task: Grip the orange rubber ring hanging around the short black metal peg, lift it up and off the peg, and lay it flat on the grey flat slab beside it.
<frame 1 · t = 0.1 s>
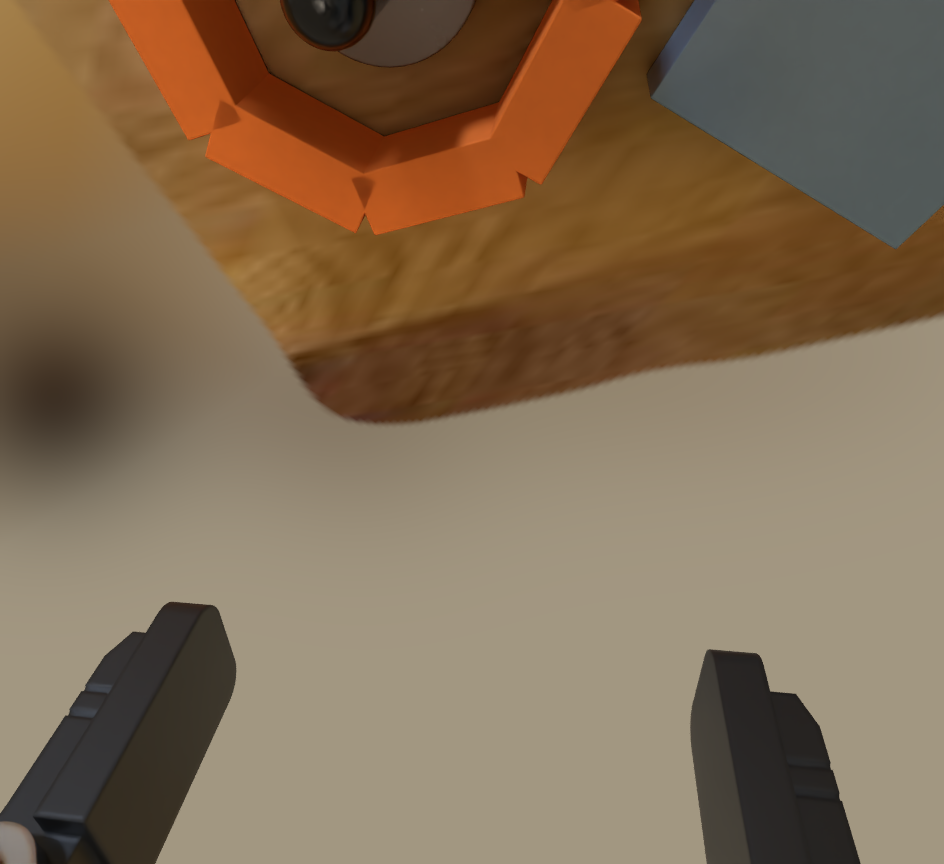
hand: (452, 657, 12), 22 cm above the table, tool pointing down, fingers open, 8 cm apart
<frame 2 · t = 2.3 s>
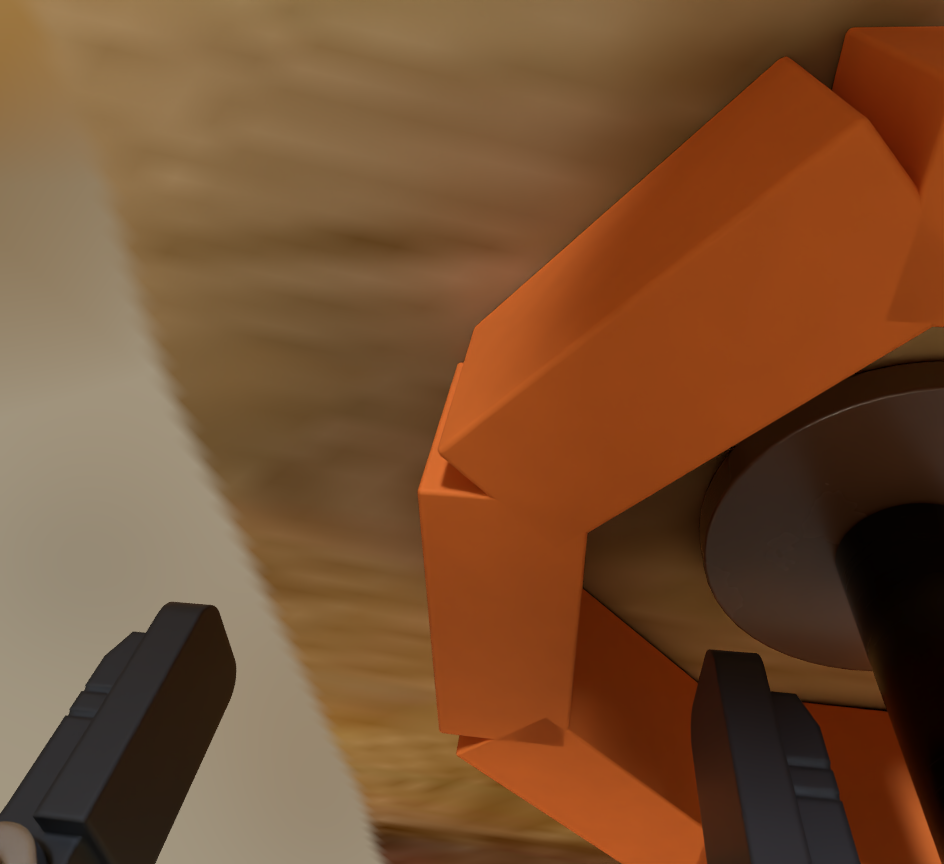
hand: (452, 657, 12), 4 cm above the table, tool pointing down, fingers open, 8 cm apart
peg stand: (892, 520, 14), on the table
ring: (892, 520, 14), on the table
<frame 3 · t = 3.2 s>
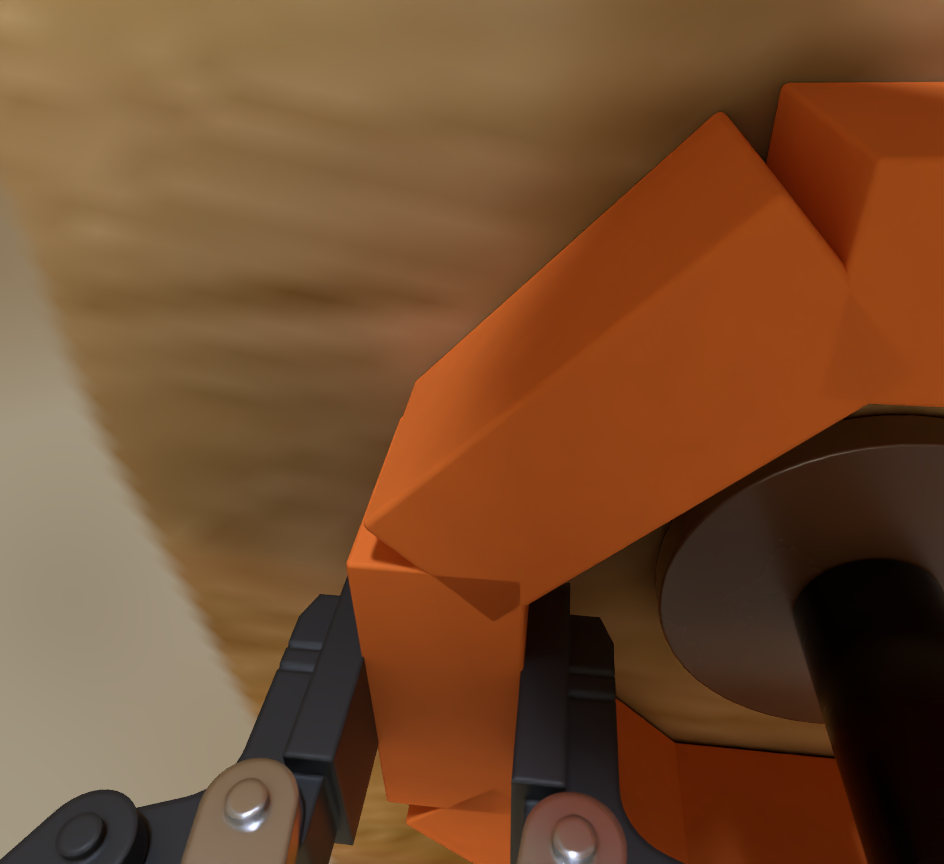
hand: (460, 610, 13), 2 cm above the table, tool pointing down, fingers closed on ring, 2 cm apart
peg stand: (851, 573, 13), on the table
ring: (852, 573, 13), on the table, touching gripper
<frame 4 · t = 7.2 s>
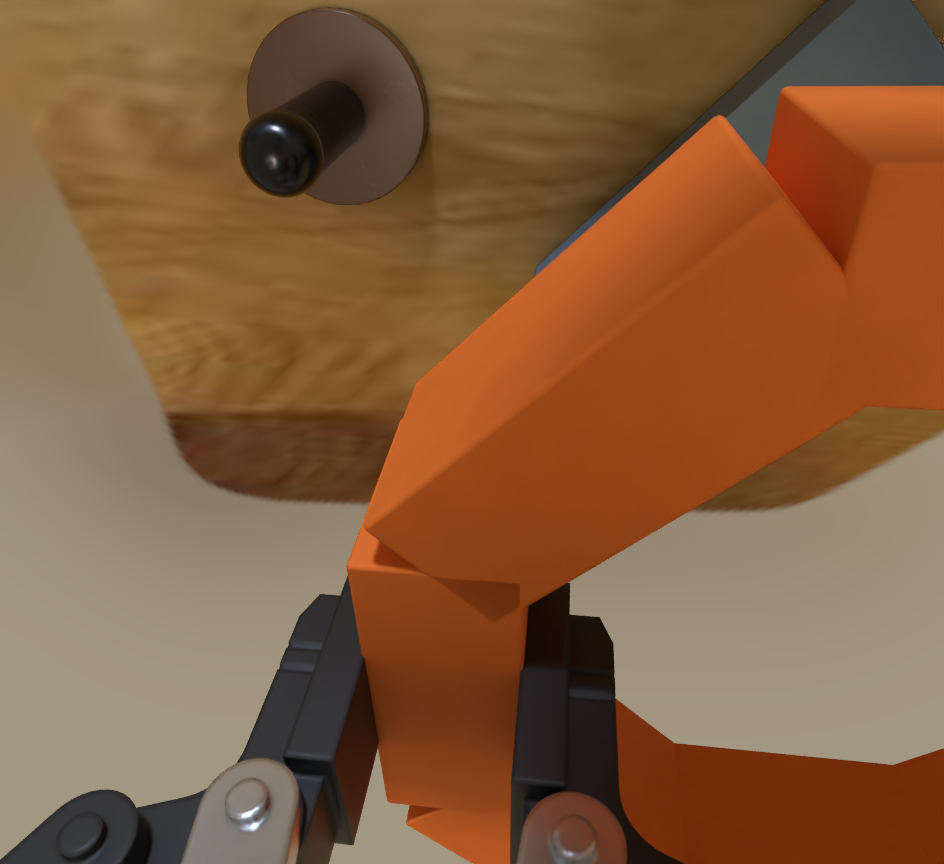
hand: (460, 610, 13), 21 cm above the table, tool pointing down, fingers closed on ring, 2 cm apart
peg stand: (340, 110, 28), on the table
grey flat slab: (764, 237, 29), on the table
ring: (851, 574, 13), point 19 cm above the table, touching gripper
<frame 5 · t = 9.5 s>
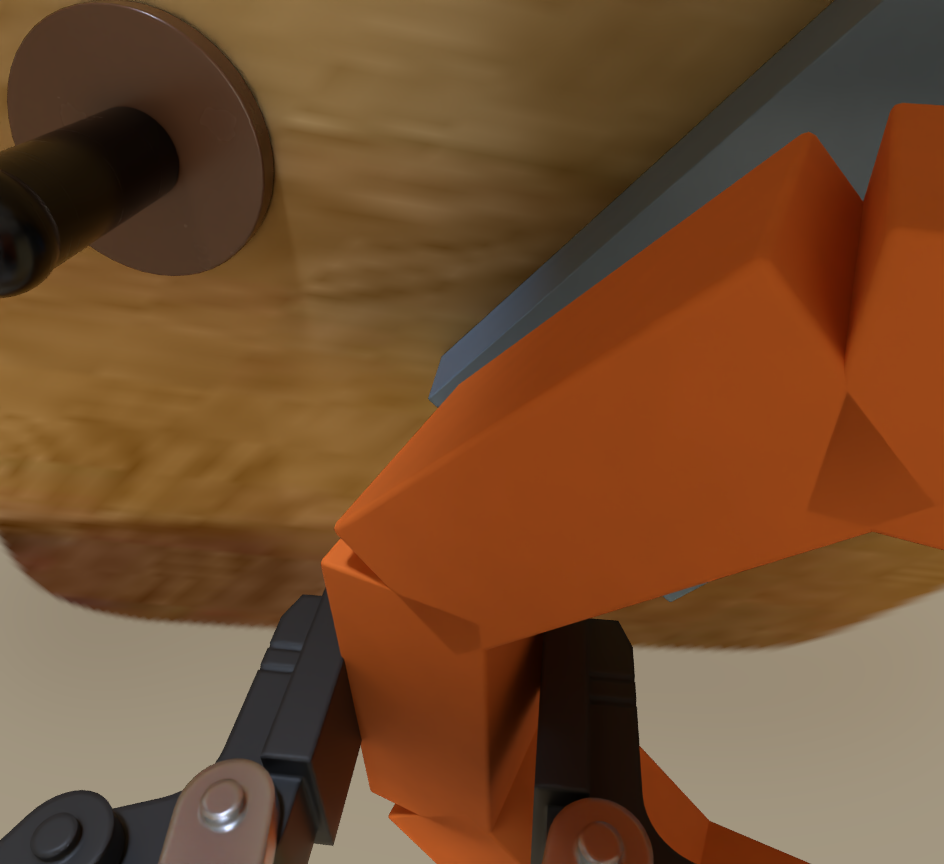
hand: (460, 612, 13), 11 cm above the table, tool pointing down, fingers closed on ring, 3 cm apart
peg stand: (151, 146, 20), on the table
grey flat slab: (752, 324, 21), on the table
ring: (938, 702, 11), point 12 cm above the table, tilted 18°, touching gripper, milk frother
when the fingers open (4 cm above the table, at t = 11.3 s): ring stays where it is, resting on grey flat slab.
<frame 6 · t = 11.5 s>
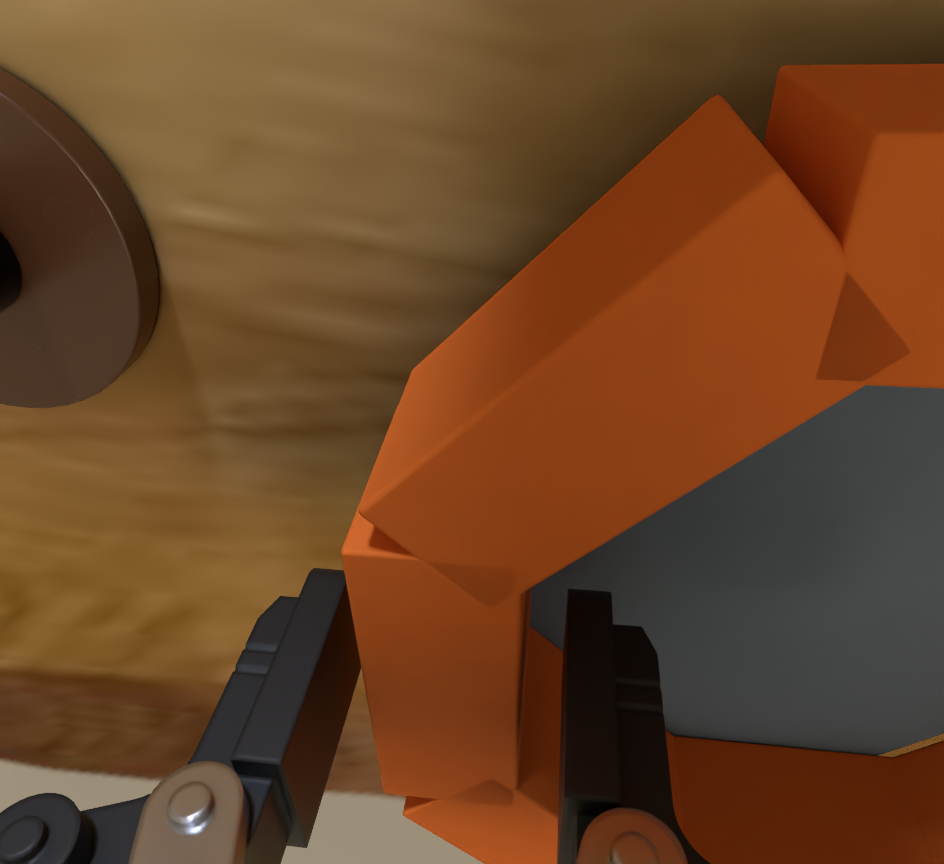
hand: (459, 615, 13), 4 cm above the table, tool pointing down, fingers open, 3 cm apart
grey flat slab: (815, 484, 15), on the table
ring: (851, 563, 13), point 2 cm above the table, touching grey flat slab
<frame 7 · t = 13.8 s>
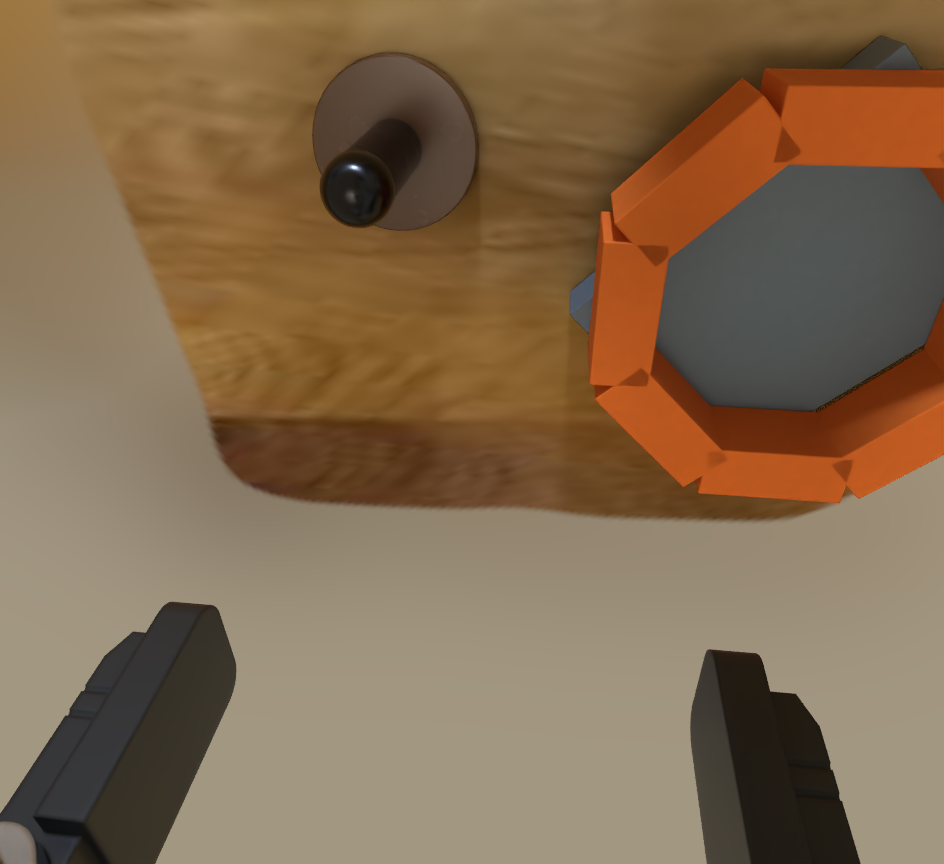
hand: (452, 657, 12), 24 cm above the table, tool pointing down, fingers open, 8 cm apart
peg stand: (397, 144, 31), on the table
grey flat slab: (780, 271, 32), on the table
ring: (794, 289, 30), point 2 cm above the table, touching grey flat slab
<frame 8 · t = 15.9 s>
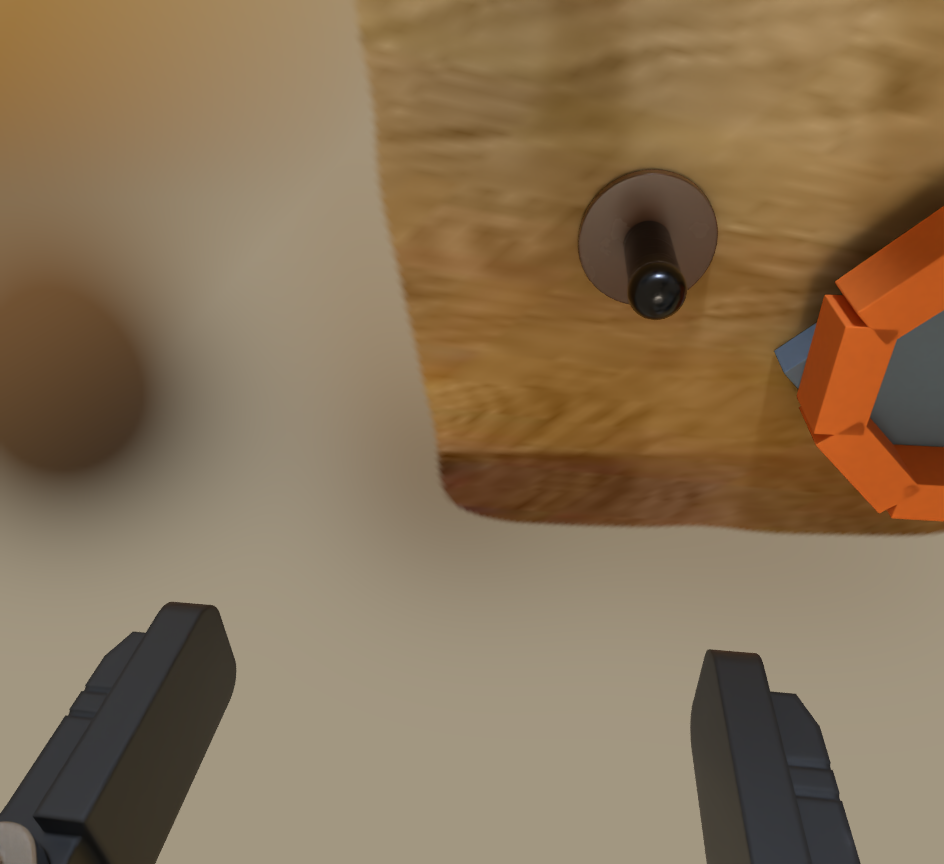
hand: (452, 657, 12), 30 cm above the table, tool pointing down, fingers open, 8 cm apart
peg stand: (645, 237, 38), on the table
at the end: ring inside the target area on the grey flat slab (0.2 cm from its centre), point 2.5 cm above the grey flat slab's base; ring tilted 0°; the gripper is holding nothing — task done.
